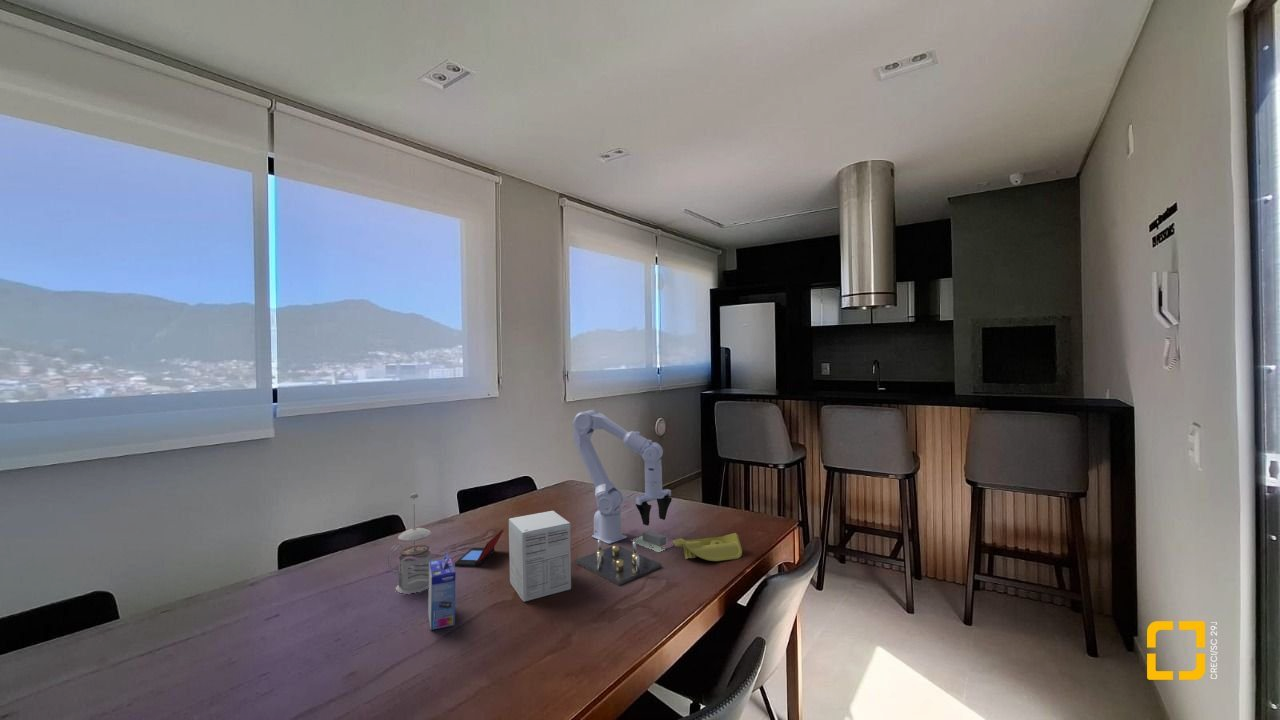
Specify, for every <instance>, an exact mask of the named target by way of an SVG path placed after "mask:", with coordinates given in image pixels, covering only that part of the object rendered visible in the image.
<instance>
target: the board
mask: <svg viewBox="0 0 1280 720" xmlns="http://www.w3.org/2000/svg"><path fill="white" fill-rule="evenodd" d="M638 537H639V538H638ZM638 537H635V538H636V540H635V541H636V542H638V543H636V545H638V544H639V546H641V547H643V546H644V547H643V548H646V549H648V548H649V550H651V549H652V550H651V551H653V550H654V552H656V553H658V552H659V553H661V551H662V552H664V551H666V550H665V549H661V547H662V545H665V544H666V539H667V536H666V535H664V534H661V533H658V532H655V531H652V530H646V531H643V532H642V535H641V536H638ZM635 538H633V540H634V539H635ZM648 542H649V543H652V544H651V545H652V546H650V545H649V544H648ZM649 546H650V547H649ZM659 546H661V547H659ZM651 547H654V548H651ZM663 548H665V547H663ZM663 550H664V551H663Z"/></svg>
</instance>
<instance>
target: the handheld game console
mask: <svg viewBox="0 0 1280 720" xmlns="http://www.w3.org/2000/svg"><path fill="white" fill-rule="evenodd" d="M503 533H504V529H501V530H500V531H499V532H498V533H497V534H496V535H495V536H493V537H492V538H491V539H490V540H489V541H488V542H487V543H486V545H485V546H484V547H472V548H471V549H469V550H468V551H467V552H466V553H464V554H463V555H462V556H461V557H460V558H459V559H458V560H457V561H455V562H454V567H456V566H460V567H459V568H478V567H479V566H480V565H481V564H482V563H483V562H484V561H485V559H487V558H488V557H489V556H491V555H492V554H493V553H494V552H495V547H496V546H497V543H498V542H499V539H500V538H501V536H502V534H503ZM493 551H494V552H493ZM492 552H493V553H492ZM487 556H488V557H487ZM486 557H487V558H486Z"/></svg>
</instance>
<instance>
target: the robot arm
mask: <svg viewBox="0 0 1280 720" xmlns="http://www.w3.org/2000/svg"><path fill="white" fill-rule="evenodd" d="M572 426H573V438H572V439H573V443H574V445H575V448H576V449H577V451H578V454H579V456H580V459H581V460H582V463H583V466H585V468H586V470H587V473H588V474H589V478H590V479H591V482H592V484H593V486H594V488H595V491H594V493H595V494H594V496H595V499H596V506H597V507H596V508H597V511H595V513H594V516H593V534H592V535H591V537H592V538H594V539H596V540H597V541H598V540H601V542H603V543H605V544H608V545H611V544H613V543H615V542H618V541H621V540H622V541H623V540H624V539H627V535H624V534H622V509H621V505H622V503H623V501H624V499H623V498H624V497H623V494H622V492H621V491H620V490H619V489H618V488H617V487H616V485H615V484H614V483H613V482H612V481H611V480H610V478H609V476H608V475H607V473H606V470H605V468H604V467H603V464H602V462H601V460H600V458H599V456H598V453H597V451H596V449H595V447H594V445H593V443H592V441H591V438H592V436H593V432H594V431H595V430H604V431H606V432H608V433H609V434H612V436H615V437H616V438H618V439H620V440H621V441H623V442H622V443H623V445H624V446H625V447H626V448H628V449H629V450H631V451H633V452H634V453H636V454H637V455H638V456H641V457H642V460H643V461H644V493H643V494H642V495H639V496H637V497H635V506H636V508H637V510H638V512H639V514H640V517H641V521H642V524H643V525H644V526H649V525H650V514H651V513H650V512H651V510H652V505H651V504H649V502H652V501H654V500H655V501H656V502H657V508H658V517H659V518H658V519H660V520H663V521H664V520H666V518H667V512H668V509H669V507H670V504H671V503H672V501H673V500H672V497H671V496H672V490H671V489H668V488H666V489H663V470H662V469H663V466H662V456H663V453H664V450H663V447H662V446H661V445H660V443H659V442H657V441H656V442H655V441H654V442H653V440H652V439H647V438H646V437H644V436H643V435H641V432H640V431H634V430H631V431H627V430H626V429H625V428H623V427H622V426H620V425H619V424H618V423H616V422H614V421H613V420H611V419H610V418H609V417H607V416H606V415H605V414H604V413H601V412H598V410H596V409H588V410H586V411H580V412H578V413H577V414H576V415H575V417H574V418H573V421H572Z"/></svg>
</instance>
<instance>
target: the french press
mask: <svg viewBox="0 0 1280 720" xmlns="http://www.w3.org/2000/svg"><path fill="white" fill-rule="evenodd" d="M409 497H410V499H417V498H418V497H419V495H418V493H417V492H414V493H411V494H410V495H409ZM415 507H416V506H415V505H413V527H412V528H410V529H407V530H405V531H403V532H402V533H401V534H399V535H398V536H397V539H398V540H399V541H400V542H404V543H405V542H407V543H408V542H413V545H409V546H408V547H404V548H402V545H401V544H399V543H396V544H395V545H393V546H392V547H391V548H390V549H389V551H388V554H387V556H386V563H387V567H388V568H389V569H390V570H391V571H392V572H394V573H395V574H398V578H397V579H398V585H397V586H396V587H395V589H396V590H397V591H398V592H400V593H415V592H419V591H423V590H425V589H427V588H429V562H431V561H432V560H431V551H430V550H429V549H430V546H429V545H426V544H416V541H421V540H423V539H427V538H428V537H430V535H431V533H432V532H431V530H429V529H428V528H423V527H416V522H415V519H416V518H415V515H416V514H415V513H416V512H415ZM395 546H397V547H395ZM397 549H398V550H399V551H400V552H399V554H400V556H398V570H396V569H394V568H393V567H392V564H391V562H392V560H391V559H392V557H393V554H394V552H395V551H396V550H397ZM391 551H392V552H391ZM390 553H391V554H390ZM389 556H390V557H389ZM406 557H413V558H406ZM414 558H418V559H414ZM419 558H420V559H419ZM403 559H404V560H403ZM427 590H428V589H427ZM425 591H426V590H425ZM423 592H424V591H423ZM419 593H420V592H419ZM415 594H416V593H415Z"/></svg>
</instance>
